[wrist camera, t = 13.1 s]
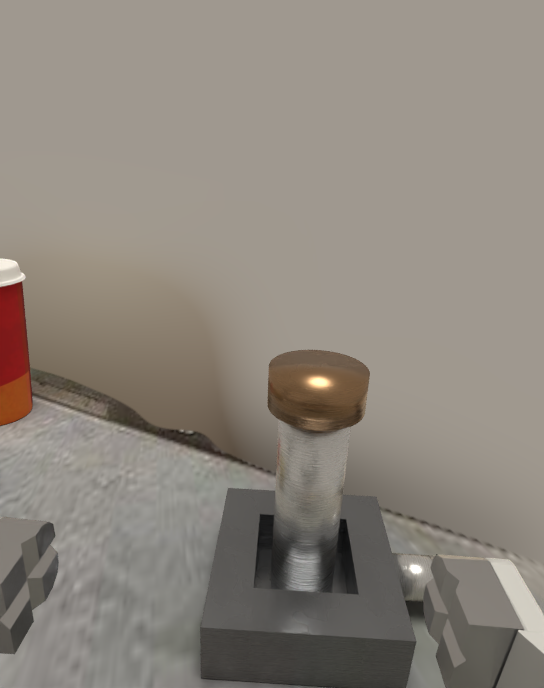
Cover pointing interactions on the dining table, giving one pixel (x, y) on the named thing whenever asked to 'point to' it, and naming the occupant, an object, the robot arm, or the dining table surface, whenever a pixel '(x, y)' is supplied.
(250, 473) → the dining table surface
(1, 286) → the coffee cup
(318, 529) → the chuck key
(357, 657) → the block
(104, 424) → the dining table surface
